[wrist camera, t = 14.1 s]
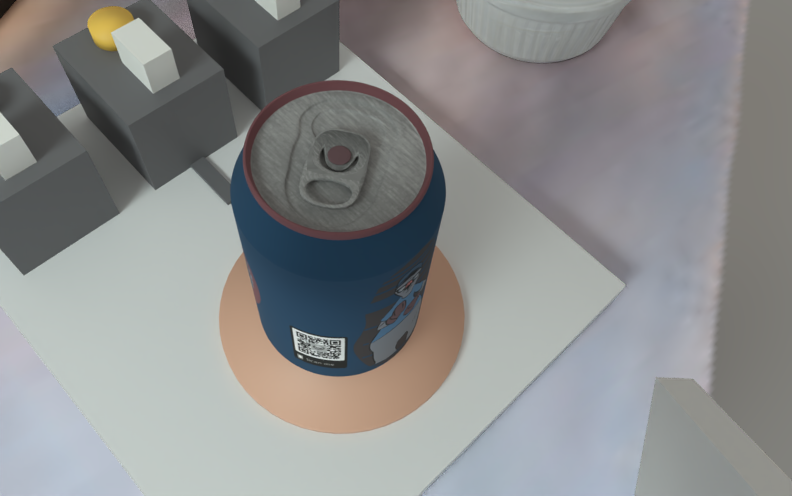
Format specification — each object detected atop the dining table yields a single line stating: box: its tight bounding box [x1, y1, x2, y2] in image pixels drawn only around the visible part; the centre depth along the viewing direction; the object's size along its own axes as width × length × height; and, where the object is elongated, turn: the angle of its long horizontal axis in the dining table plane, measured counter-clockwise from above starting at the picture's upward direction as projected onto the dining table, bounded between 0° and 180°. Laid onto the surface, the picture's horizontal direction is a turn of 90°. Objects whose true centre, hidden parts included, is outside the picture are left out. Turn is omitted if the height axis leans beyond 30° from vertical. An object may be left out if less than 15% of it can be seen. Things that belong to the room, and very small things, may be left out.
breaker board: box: [0, 0, 626, 496], centre depth 31 cm, size 26×22×8 cm
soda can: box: [230, 80, 446, 377], centre depth 26 cm, size 7×7×12 cm
